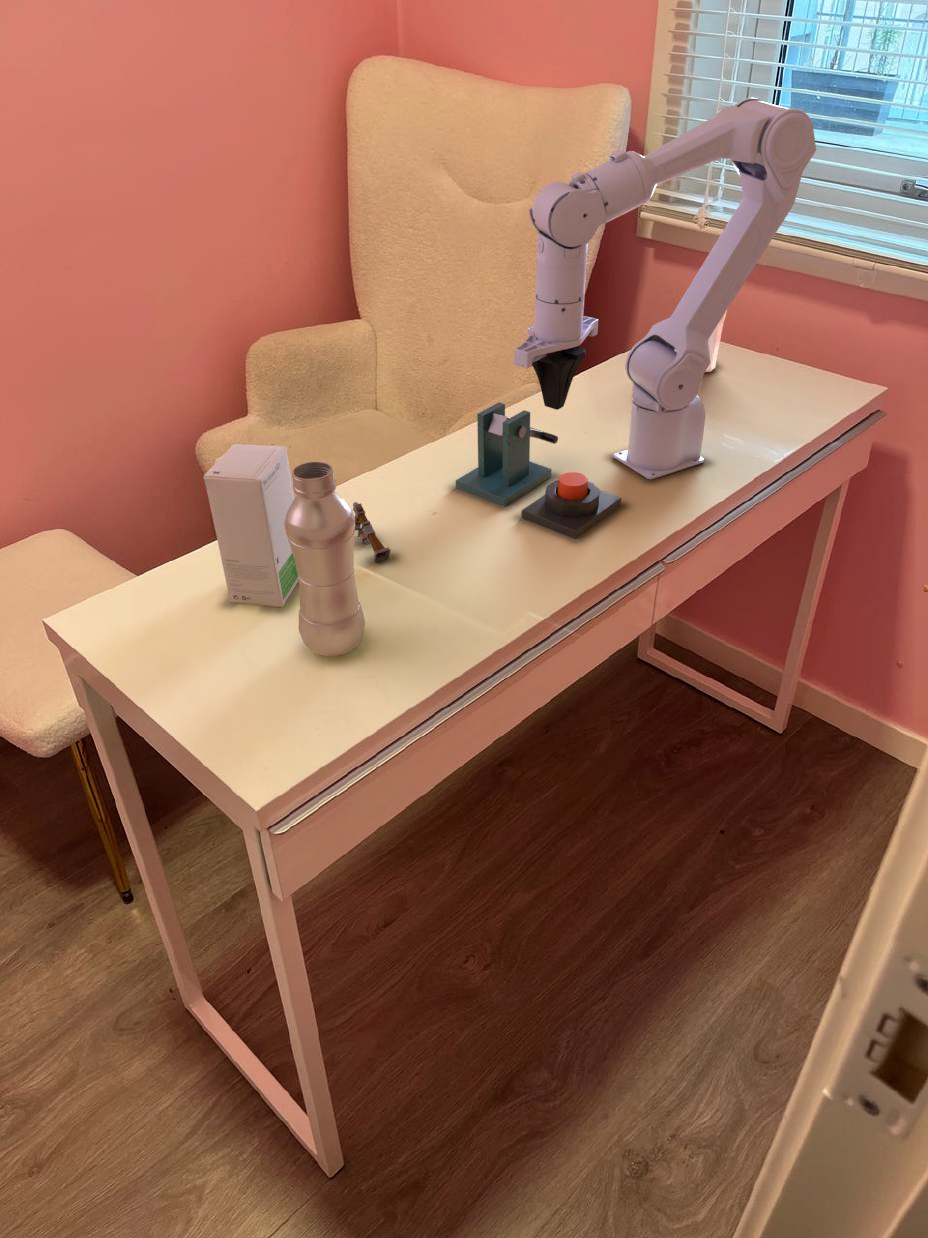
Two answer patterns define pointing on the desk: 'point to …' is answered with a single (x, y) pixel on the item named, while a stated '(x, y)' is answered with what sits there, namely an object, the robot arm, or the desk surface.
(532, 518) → the control block
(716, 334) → the cup
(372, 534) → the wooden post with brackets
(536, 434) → the lever
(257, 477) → the cosmetic box
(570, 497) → the button
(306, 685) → the desk surface
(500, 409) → the bracket
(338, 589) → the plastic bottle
